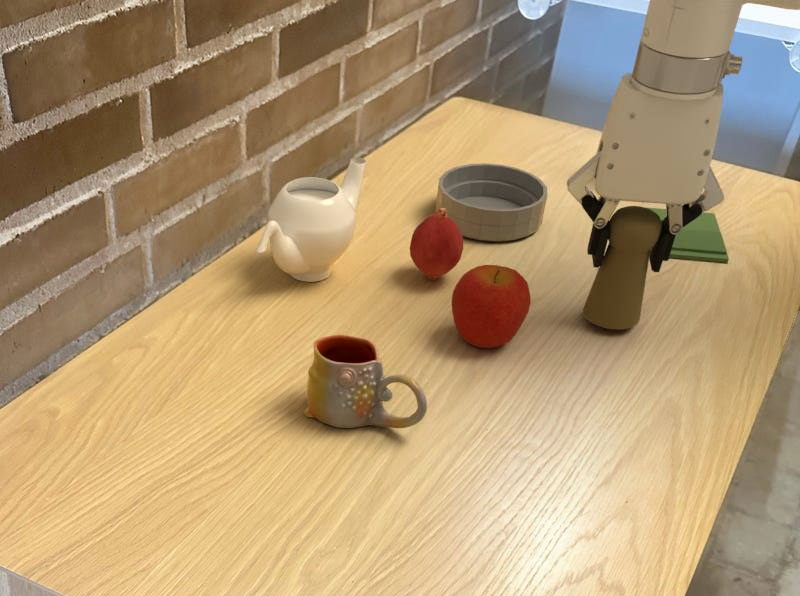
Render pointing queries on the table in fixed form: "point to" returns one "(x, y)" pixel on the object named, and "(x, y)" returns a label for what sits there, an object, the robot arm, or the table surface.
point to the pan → (492, 201)
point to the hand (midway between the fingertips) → (625, 261)
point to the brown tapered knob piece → (623, 269)
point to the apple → (490, 305)
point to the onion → (436, 245)
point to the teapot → (313, 223)
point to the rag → (698, 239)
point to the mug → (354, 385)
